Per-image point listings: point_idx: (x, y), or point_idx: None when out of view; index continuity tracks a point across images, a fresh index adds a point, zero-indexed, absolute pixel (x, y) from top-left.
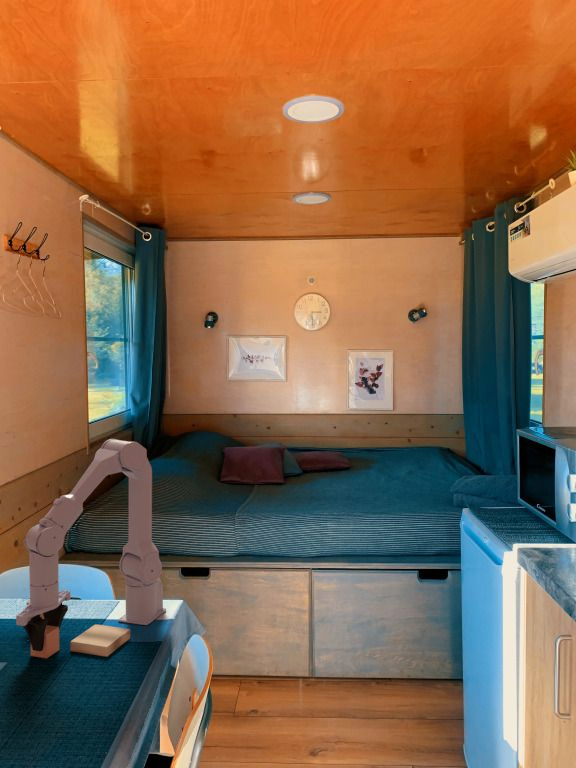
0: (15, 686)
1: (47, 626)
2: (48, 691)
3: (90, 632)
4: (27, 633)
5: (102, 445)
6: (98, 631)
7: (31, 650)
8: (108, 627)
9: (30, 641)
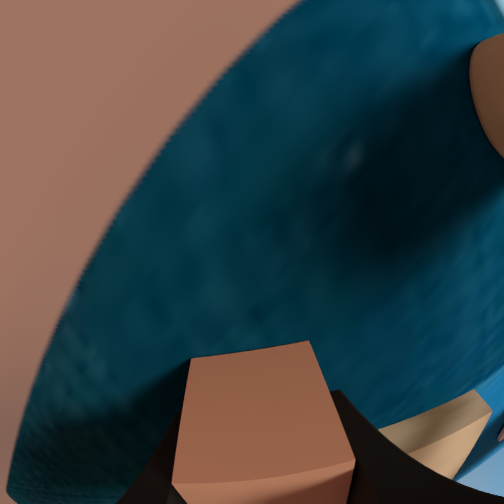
0: (41, 440)
1: (326, 494)
2: (101, 501)
3: (426, 457)
4: (120, 501)
5: None
6: (434, 464)
7: (189, 382)
8: (462, 455)
9: (155, 452)
